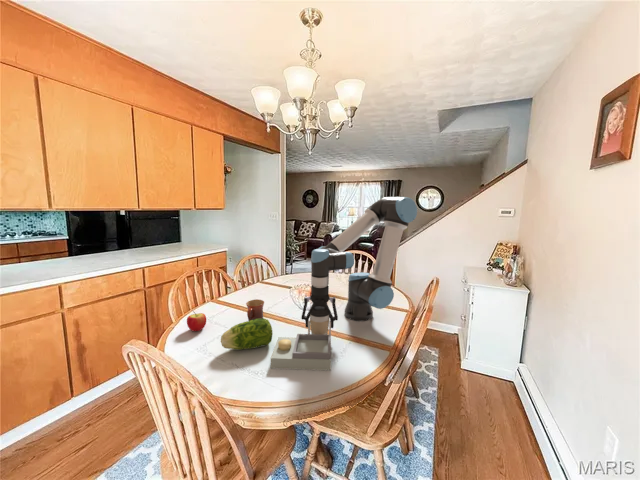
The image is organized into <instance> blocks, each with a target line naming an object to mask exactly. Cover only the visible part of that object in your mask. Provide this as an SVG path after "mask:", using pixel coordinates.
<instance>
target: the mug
mask: <svg viewBox="0 0 640 480" xmlns="http://www.w3.org/2000/svg"><path fill="white" fill-rule="evenodd" d="M264 305H265V301H264V300H263V299H256V298H255V299H252V300H251V299H250V300H248V301H246V303H245V306H246V308H247V311H246V312H247V313H246V315H247V319H248V320H247V321H250V320H254V319H260V318H264Z"/></svg>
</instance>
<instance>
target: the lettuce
mask: <svg viewBox="0 0 640 480" xmlns="http://www.w3.org/2000/svg"><path fill="white" fill-rule="evenodd" d="M273 332H274V331H273V328H272V324H271V323H270V320H269V319H267V318H264V317H263V318H260V319H254V320H250V321H248V320H247V321H243V322H240V323H237V324H234V325H233V326H231V327H230V328H229V329H228V330H225V332H224V333H223V334H222V335H221V337H220V345H221V347H223V348H224V349H228V350H229V349H230V350H237V351H239V350H249V349H255V348H260V347H264V346H268V345H270V343H271V342H272V339H273V334H274V333H273Z"/></svg>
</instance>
